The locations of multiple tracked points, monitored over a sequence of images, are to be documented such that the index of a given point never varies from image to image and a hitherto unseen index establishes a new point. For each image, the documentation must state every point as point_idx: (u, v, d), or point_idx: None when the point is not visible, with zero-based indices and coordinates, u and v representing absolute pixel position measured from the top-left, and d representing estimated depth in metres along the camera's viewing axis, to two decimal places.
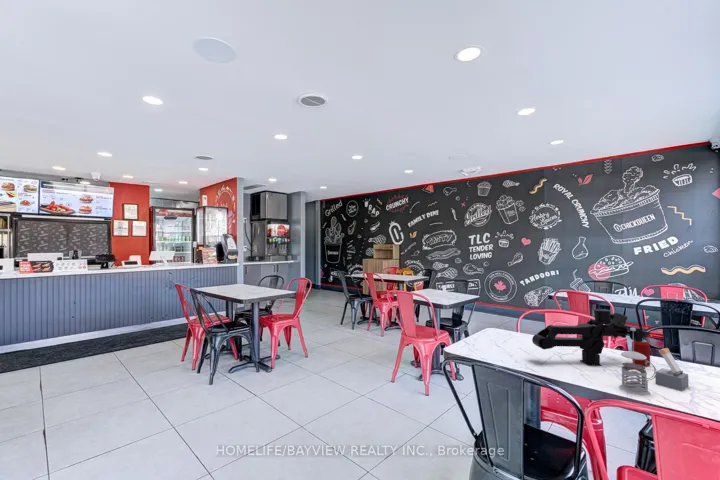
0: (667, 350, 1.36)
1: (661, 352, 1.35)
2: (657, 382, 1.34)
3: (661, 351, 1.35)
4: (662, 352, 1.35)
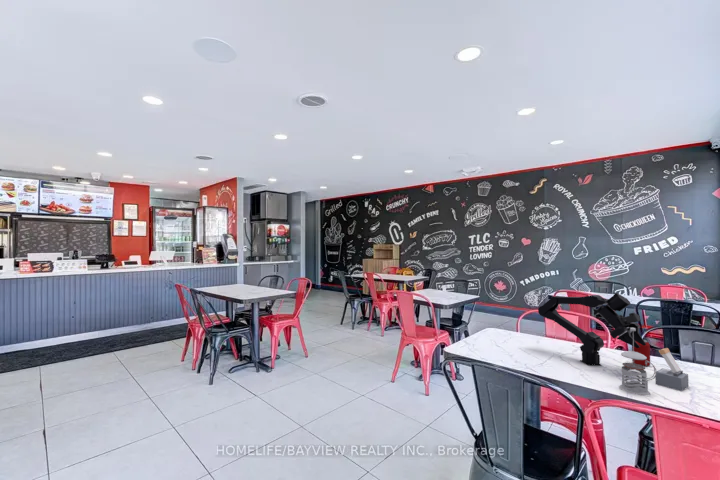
0: (667, 350, 1.36)
1: (661, 352, 1.35)
2: (657, 382, 1.34)
3: (661, 351, 1.35)
4: (662, 352, 1.35)
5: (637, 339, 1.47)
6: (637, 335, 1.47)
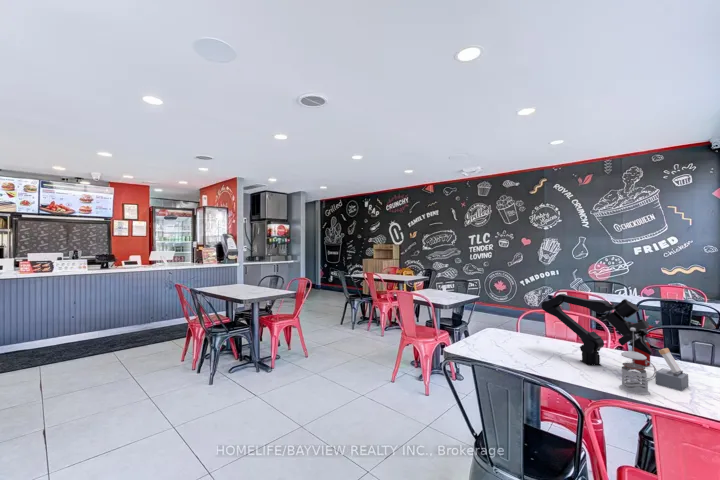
0: (667, 350, 1.36)
1: (661, 352, 1.35)
2: (657, 382, 1.34)
3: (661, 351, 1.35)
4: (662, 352, 1.35)
5: None
6: None
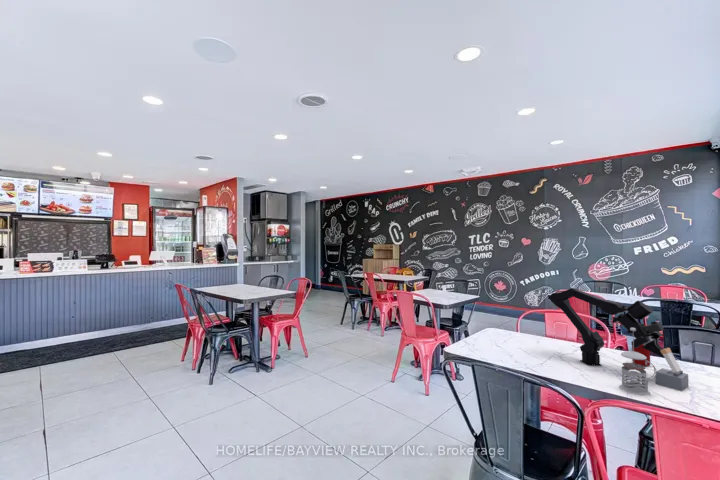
0: (669, 350, 1.36)
1: (662, 352, 1.35)
2: (657, 382, 1.34)
3: (662, 351, 1.35)
4: (663, 352, 1.34)
5: None
6: None
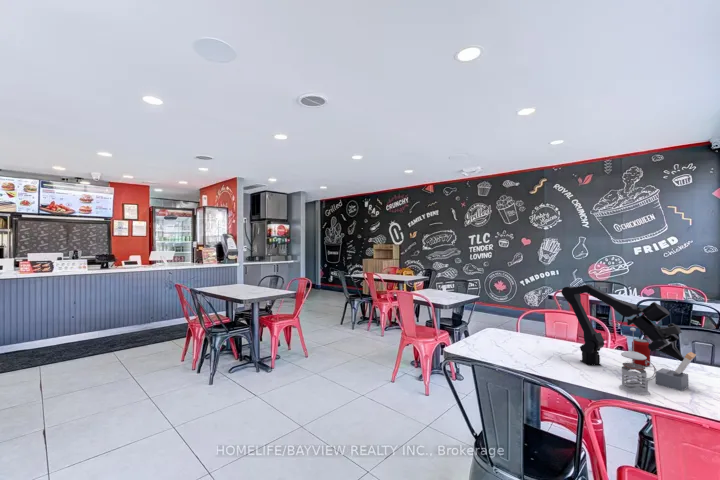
0: (693, 357, 1.29)
1: (687, 356, 1.28)
2: (657, 382, 1.34)
3: (688, 356, 1.28)
4: (688, 357, 1.28)
5: None
6: None
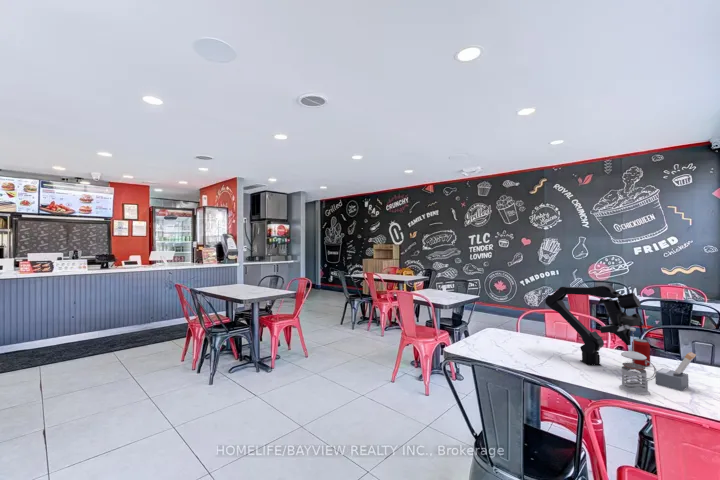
0: (693, 357, 1.29)
1: (687, 356, 1.28)
2: (657, 382, 1.34)
3: (688, 356, 1.28)
4: (688, 357, 1.28)
5: None
6: (626, 334, 1.48)
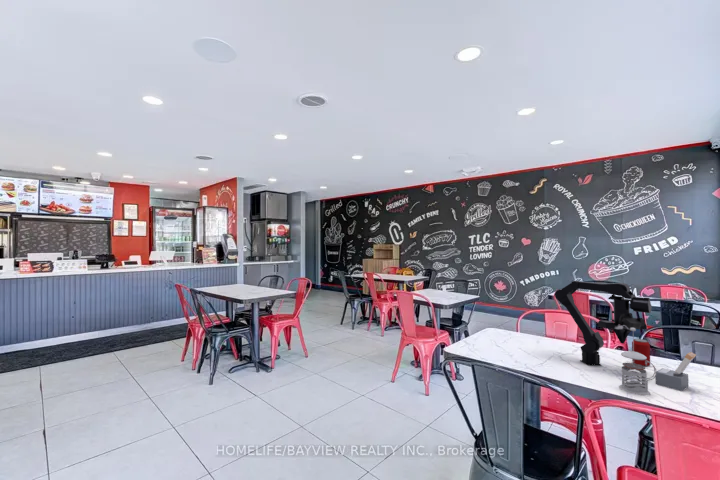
0: (693, 357, 1.29)
1: (687, 356, 1.28)
2: (657, 382, 1.34)
3: (688, 356, 1.28)
4: (688, 357, 1.28)
5: None
6: (624, 333, 1.49)
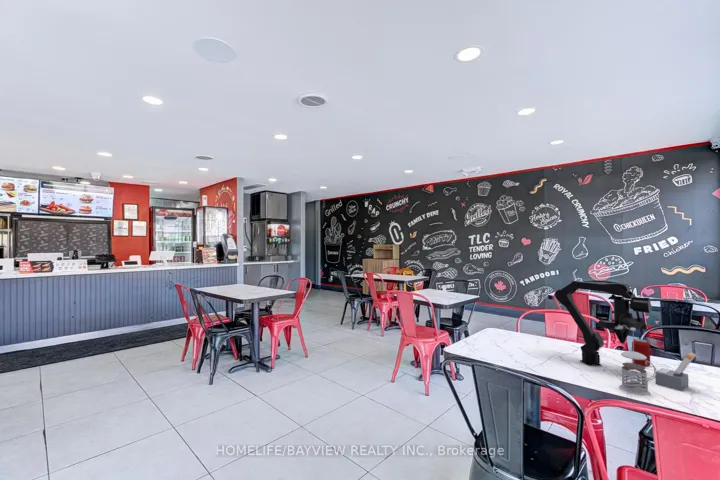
0: (693, 357, 1.29)
1: (687, 356, 1.28)
2: (657, 382, 1.34)
3: (688, 356, 1.28)
4: (688, 357, 1.28)
5: None
6: (624, 333, 1.49)
